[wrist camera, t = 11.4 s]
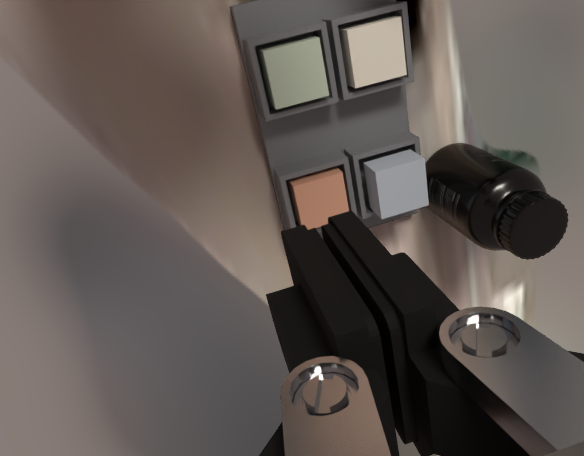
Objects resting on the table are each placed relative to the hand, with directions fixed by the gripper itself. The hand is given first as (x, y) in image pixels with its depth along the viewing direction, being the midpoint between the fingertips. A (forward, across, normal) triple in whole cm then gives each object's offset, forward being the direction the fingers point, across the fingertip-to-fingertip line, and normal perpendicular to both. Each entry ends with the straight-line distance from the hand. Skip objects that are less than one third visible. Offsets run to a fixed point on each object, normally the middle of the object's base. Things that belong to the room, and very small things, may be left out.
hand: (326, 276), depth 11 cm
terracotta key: (+28, -6, +10) cm, 30 cm away
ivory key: (+28, -11, 0) cm, 30 cm away
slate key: (+26, -12, +10) cm, 30 cm away
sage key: (+28, -6, 0) cm, 28 cm away
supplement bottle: (+29, -19, +13) cm, 37 cm away
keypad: (+29, -8, +5) cm, 31 cm away
